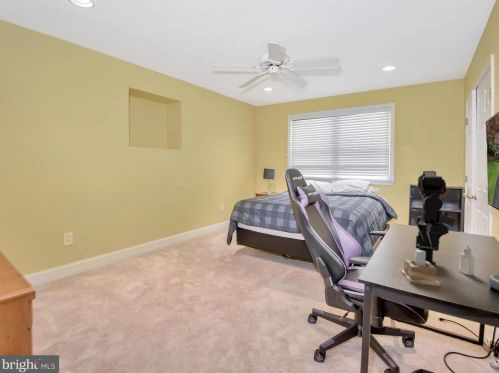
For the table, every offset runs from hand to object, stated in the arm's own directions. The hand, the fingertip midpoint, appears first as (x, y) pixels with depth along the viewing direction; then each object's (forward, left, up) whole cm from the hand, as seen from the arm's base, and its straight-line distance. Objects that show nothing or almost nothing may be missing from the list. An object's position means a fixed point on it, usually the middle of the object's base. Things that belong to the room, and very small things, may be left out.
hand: (429, 244), depth 113 cm
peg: (+5, -5, -12) cm, 14 cm away
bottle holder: (+5, -5, -13) cm, 15 cm away
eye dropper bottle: (-5, +16, -13) cm, 21 cm away
